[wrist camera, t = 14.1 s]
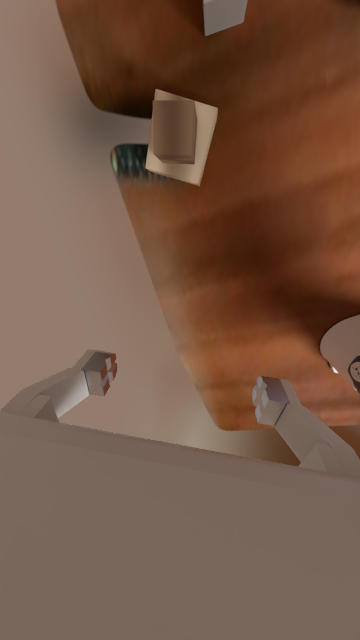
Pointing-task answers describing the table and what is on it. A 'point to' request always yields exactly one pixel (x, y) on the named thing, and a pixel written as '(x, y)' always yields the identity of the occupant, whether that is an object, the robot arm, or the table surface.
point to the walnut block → (174, 131)
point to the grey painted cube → (222, 14)
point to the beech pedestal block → (203, 141)
